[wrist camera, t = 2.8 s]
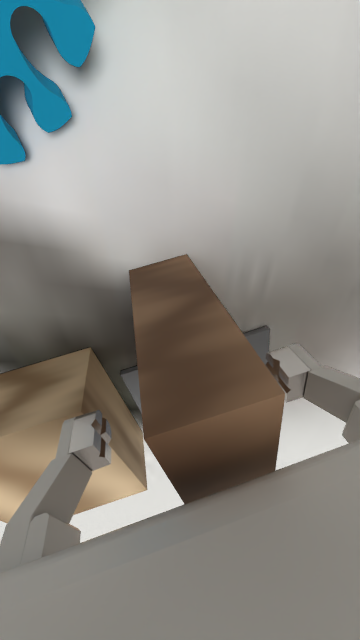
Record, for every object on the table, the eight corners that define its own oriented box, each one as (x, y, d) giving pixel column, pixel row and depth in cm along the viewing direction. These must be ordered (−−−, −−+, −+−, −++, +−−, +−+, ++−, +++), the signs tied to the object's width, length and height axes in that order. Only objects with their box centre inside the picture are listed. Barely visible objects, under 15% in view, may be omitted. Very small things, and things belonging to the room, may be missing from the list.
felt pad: (267, 326, 18) (269, 329, 18) (264, 392, 24) (266, 395, 23) (120, 371, 18) (120, 375, 17) (151, 429, 23) (152, 432, 23)
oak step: (90, 347, 16) (80, 411, 12) (142, 432, 23) (147, 489, 19) (-58, 391, 15) (-121, 474, 11) (43, 464, 22) (26, 530, 18)
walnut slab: (186, 254, 13) (285, 393, 6) (203, 340, 18) (272, 490, 10) (128, 270, 13) (144, 439, 5) (159, 353, 17) (193, 517, 10)
